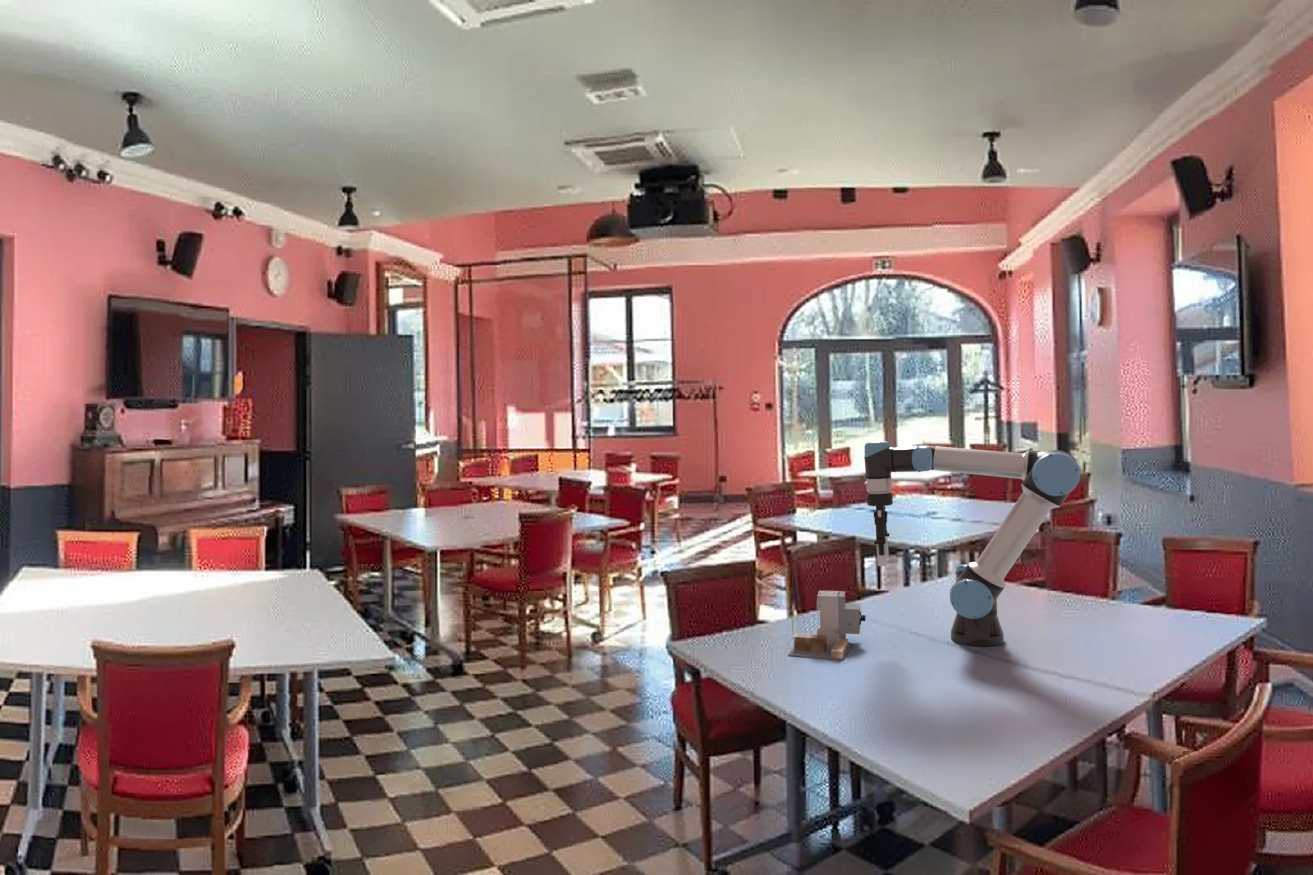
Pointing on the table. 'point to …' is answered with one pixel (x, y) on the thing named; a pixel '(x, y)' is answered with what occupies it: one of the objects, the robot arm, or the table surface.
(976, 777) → the table surface
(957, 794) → the table surface
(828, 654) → the mat
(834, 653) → the ledge
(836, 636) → the circuit breaker
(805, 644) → the block
